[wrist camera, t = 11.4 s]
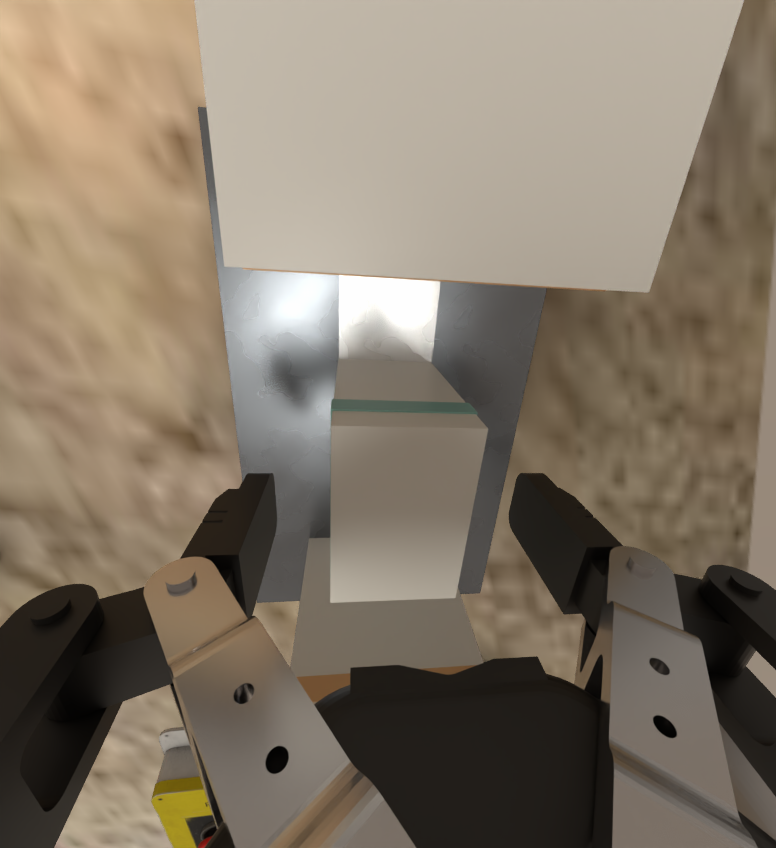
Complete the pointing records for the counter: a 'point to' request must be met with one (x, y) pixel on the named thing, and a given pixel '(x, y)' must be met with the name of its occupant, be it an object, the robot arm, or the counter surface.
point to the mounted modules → (449, 184)
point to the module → (400, 481)
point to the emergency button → (182, 794)
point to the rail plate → (366, 340)
